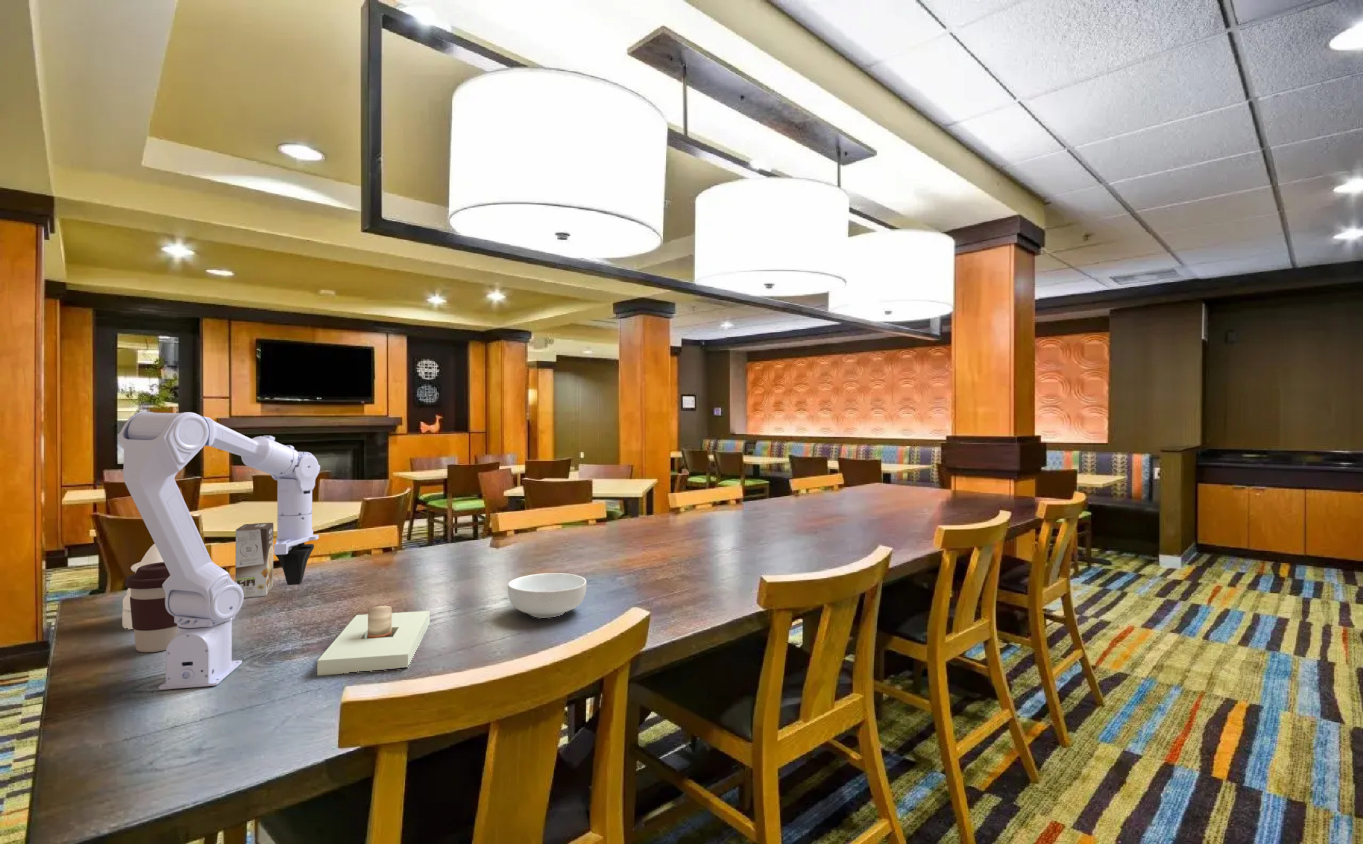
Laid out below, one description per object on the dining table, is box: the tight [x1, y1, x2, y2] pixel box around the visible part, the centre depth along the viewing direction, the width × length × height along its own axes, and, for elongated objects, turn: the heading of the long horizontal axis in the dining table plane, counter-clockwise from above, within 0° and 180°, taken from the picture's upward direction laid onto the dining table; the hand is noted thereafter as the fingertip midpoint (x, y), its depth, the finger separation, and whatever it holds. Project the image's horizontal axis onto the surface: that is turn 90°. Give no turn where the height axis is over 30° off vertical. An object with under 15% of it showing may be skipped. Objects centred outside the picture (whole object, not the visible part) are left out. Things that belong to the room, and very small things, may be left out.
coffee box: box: [234, 522, 274, 599], centre depth 151 cm, size 9×6×16 cm
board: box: [316, 610, 431, 676], centre depth 118 cm, size 24×14×2 cm, turn 13°
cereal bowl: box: [507, 572, 588, 617], centre depth 138 cm, size 17×17×7 cm
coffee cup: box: [125, 562, 177, 653], centre depth 116 cm, size 10×10×15 cm
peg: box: [367, 605, 393, 639], centre depth 117 cm, size 4×4×7 cm
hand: (294, 584), depth 121 cm, fingers closed
